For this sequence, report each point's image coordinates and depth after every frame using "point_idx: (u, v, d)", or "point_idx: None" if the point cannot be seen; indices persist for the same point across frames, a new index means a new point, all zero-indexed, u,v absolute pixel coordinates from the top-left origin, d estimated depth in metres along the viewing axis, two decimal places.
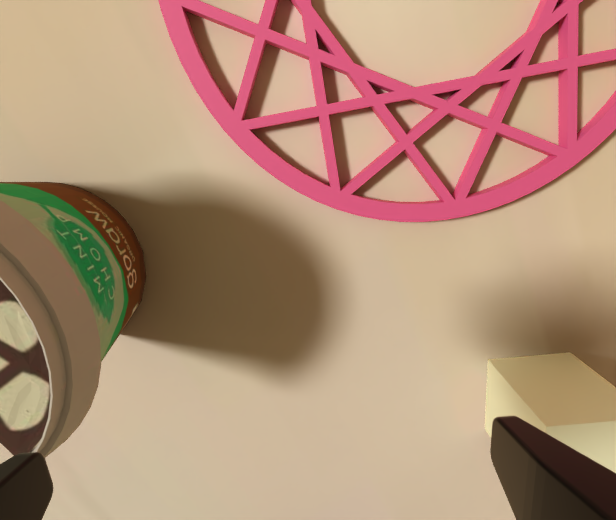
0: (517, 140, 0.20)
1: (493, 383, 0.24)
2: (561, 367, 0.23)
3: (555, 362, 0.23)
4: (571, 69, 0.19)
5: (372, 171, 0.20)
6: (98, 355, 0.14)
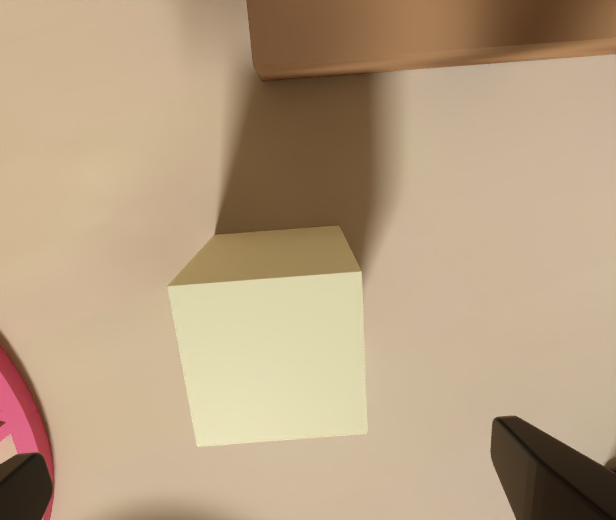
0: None
1: None
2: None
3: None
4: None
5: None
6: None
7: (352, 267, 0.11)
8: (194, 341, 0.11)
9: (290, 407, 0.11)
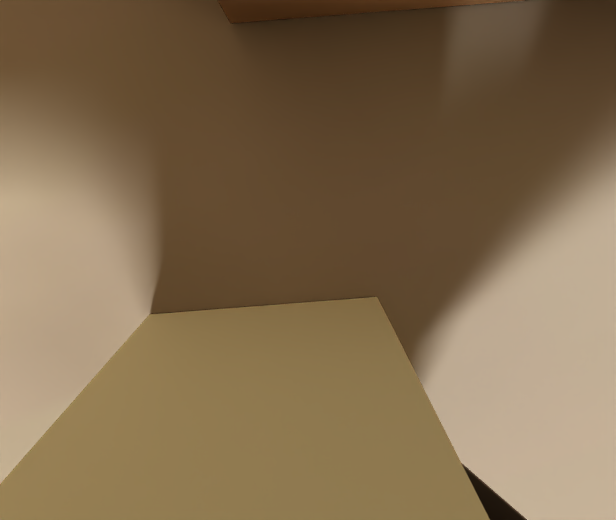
0: None
1: None
2: None
3: None
4: None
5: None
6: None
7: None
8: None
9: None
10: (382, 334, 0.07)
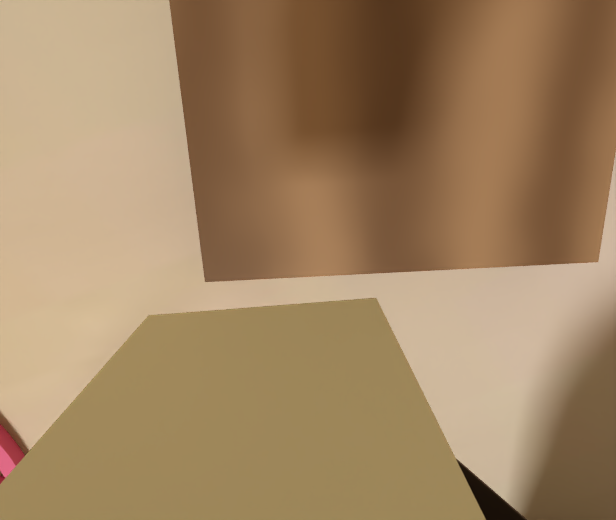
0: None
1: None
2: None
3: None
4: None
5: None
6: None
7: None
8: None
9: None
10: (381, 335, 0.07)
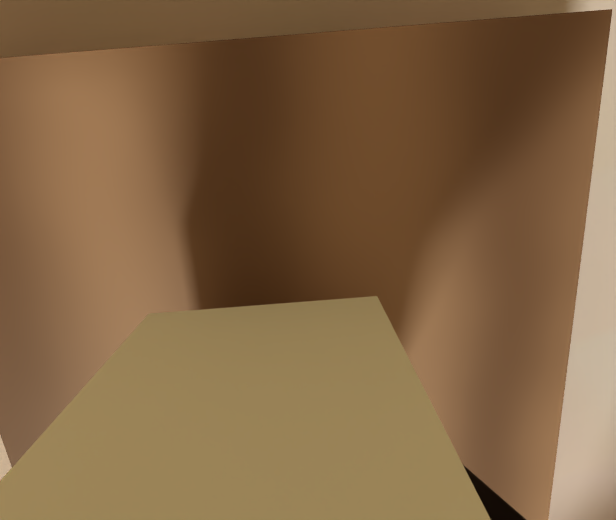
0: None
1: None
2: None
3: None
4: None
5: None
6: None
7: None
8: None
9: None
10: (382, 333, 0.07)
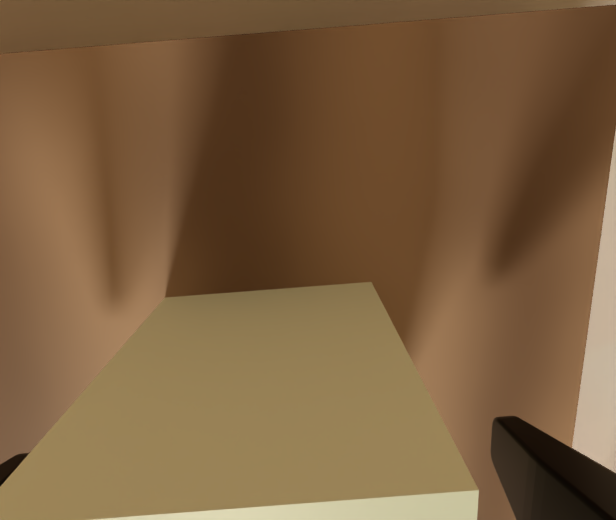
0: None
1: None
2: None
3: None
4: None
5: None
6: None
7: (445, 461, 0.04)
8: None
9: None
10: (374, 312, 0.08)
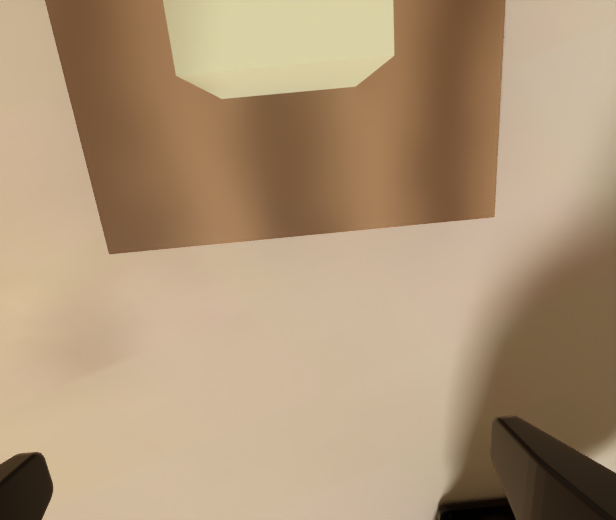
0: None
1: (249, 93, 0.14)
2: None
3: None
4: None
5: None
6: None
7: None
8: None
9: (295, 9, 0.09)
10: None
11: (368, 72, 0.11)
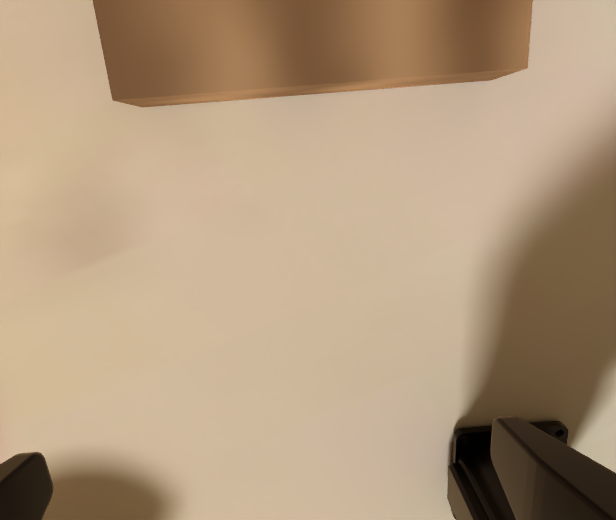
0: None
1: None
2: None
3: None
4: None
5: None
6: None
7: None
8: None
9: None
10: None
11: None
